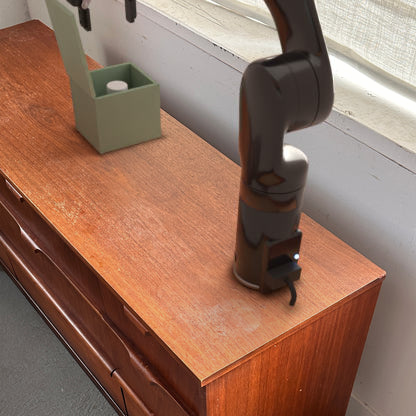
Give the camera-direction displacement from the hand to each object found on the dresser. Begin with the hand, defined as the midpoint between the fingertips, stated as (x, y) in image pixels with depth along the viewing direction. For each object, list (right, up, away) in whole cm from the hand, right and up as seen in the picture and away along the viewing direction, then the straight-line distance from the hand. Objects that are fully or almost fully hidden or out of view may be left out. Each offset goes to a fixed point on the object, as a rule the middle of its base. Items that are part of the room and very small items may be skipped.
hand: (109, 25), depth 113 cm
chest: (-1, -14, +15) cm, 20 cm away
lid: (-6, -4, -1) cm, 8 cm away
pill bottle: (0, -13, +15) cm, 20 cm away
